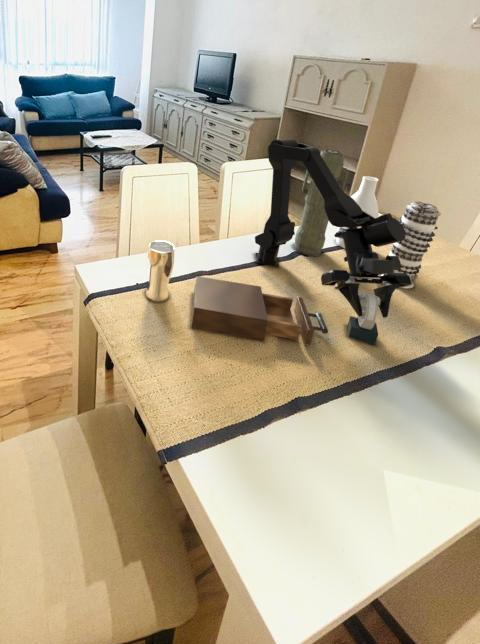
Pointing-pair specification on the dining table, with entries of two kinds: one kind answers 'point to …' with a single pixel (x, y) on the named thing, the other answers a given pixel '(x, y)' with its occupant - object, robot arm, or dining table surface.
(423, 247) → the white and black cylinder
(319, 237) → the thermos
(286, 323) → the drawer
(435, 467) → the dining table surface
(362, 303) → the watch
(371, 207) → the bottle
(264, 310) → the cabinet
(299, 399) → the dining table surface
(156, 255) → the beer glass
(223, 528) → the dining table surface
